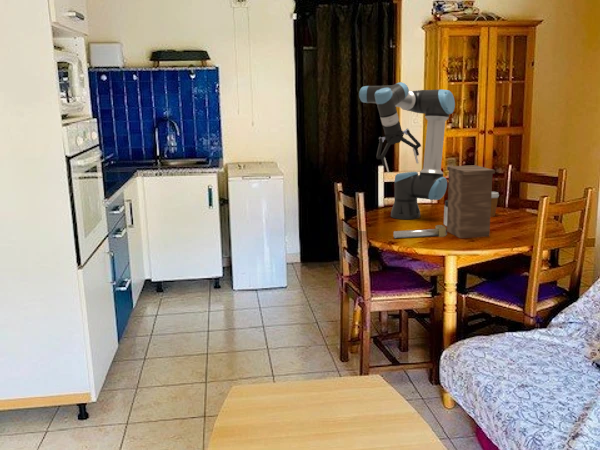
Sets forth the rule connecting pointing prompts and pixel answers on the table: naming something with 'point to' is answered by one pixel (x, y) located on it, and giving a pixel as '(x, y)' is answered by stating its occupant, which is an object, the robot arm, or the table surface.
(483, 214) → the stand
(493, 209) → the disposable coffee cup
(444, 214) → the jar
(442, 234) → the pipe
